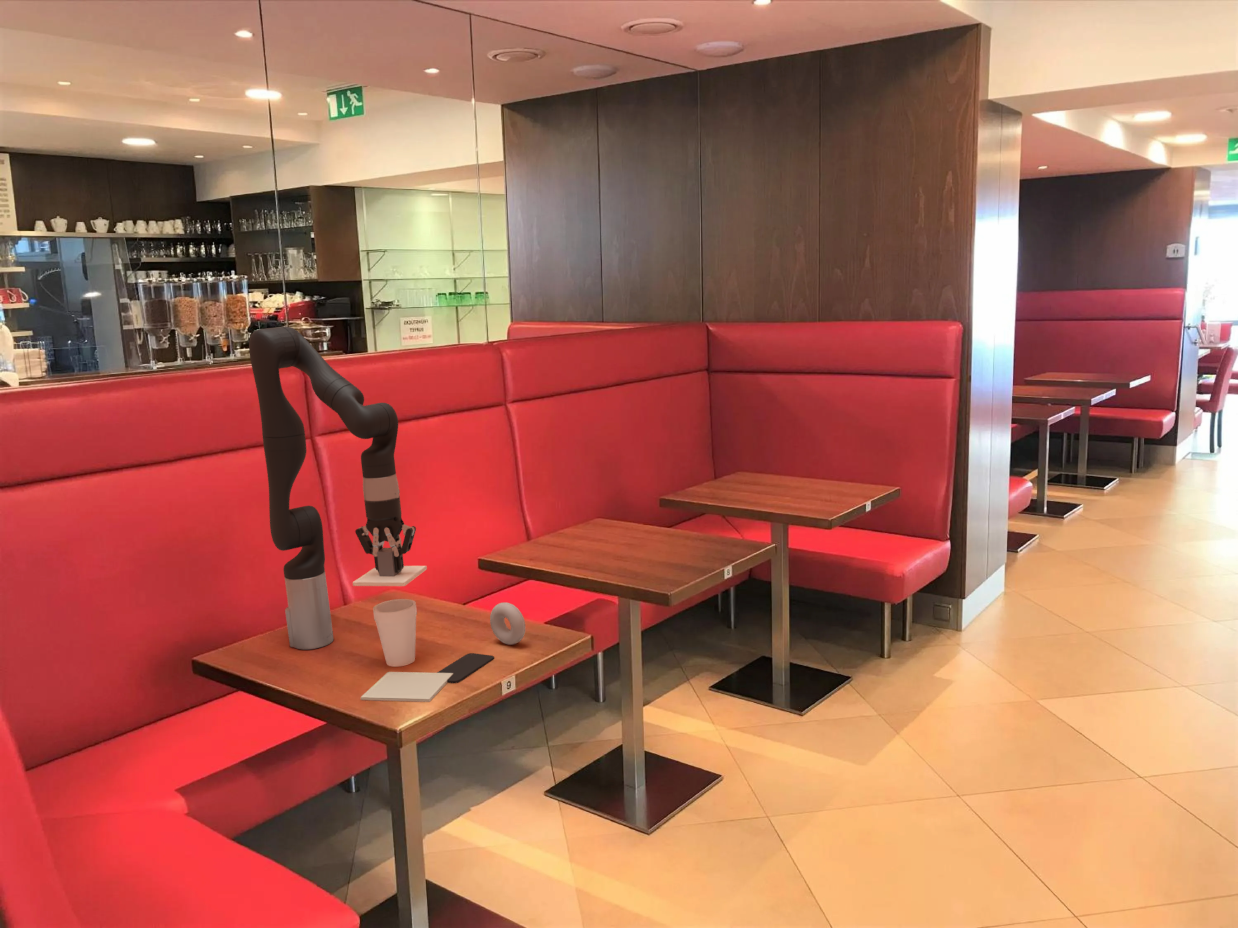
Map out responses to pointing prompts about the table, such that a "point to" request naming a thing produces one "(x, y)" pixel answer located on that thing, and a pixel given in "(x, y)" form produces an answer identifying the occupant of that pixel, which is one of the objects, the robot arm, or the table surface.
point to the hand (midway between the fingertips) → (390, 571)
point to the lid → (388, 572)
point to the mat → (407, 686)
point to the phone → (466, 666)
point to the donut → (500, 626)
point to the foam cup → (397, 630)
